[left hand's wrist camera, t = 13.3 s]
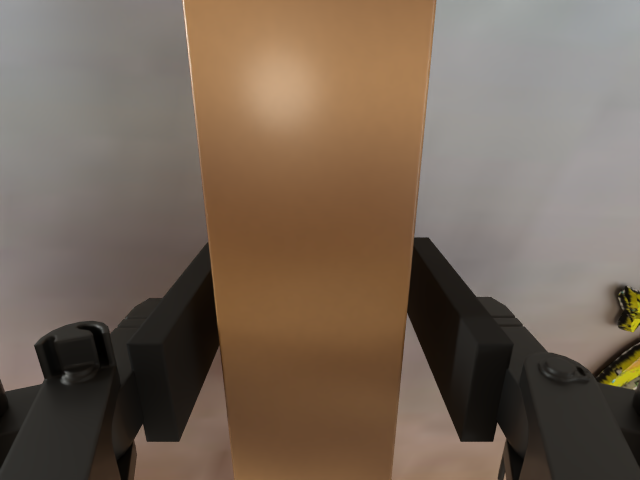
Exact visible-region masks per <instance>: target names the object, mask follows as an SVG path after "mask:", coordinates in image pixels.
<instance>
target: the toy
mask: <svg viewBox="0 0 640 480" xmlns="http://www.w3.org/2000/svg"><path fill="white" fill-rule="evenodd" d="M618 299H619V301H620V305H621V307H622V309H623V313H622V315H621V317H620V319H619V320H618V327H619V328H620V329H622V330H626V331H630V332H634V331H635V330H636V329H637V327H638V326H639V325H640V292H639V291H638V290H635V289H632V288H631V287H629V286H625V288H624V290H623V291H622V290H621V291H620V293H619V295H618ZM638 312H639V313H638ZM638 369H639V371H638ZM620 373H621V375H622V376H619V375H620ZM616 378H617V379H616ZM595 379H596V381H597V382H599V383H603V384H608V385H613V386H618V387H623V388H628V389H632V390H636V388H637V385H638V383H639V380H640V343H638V344H636V345H634V346H633V347H631V348H630V349H628V350H627V351H625V352H624V353H623V354H622V355H620V356H619V357H618V358H617V359H616V360H615V361H613V362H612V363H611V364H610V365H609V366H607V367H606V368H605V369H604V370H603V371H602V372H601V373H600V374H599V375H598V376H597V377H596V378H595ZM612 381H613V382H612ZM634 388H635V389H634Z"/></svg>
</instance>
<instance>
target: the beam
mask: <svg viewBox="0 0 640 480" xmlns="http://www.w3.org/2000/svg"><path fill="white" fill-rule="evenodd" d="M182 2H183V12H184V21H185V30H186V39H187V48H188V58H189V67H190V76H191V85H192V94H193V104H194V113H195V122H196V131H197V141H198V150H199V159H200V168H201V177H202V187H203V196H204V205H205V214H206V223H207V233H208V242H209V251H210V260H211V270H212V279H213V288H214V297H215V306H216V316H217V325H218V334H219V343H220V352H221V362H222V371H223V380H224V389H225V399H226V408H227V417H228V426H229V435H230V445H231V454H232V463H233V472H234V480H391V477H392V466H393V455H394V445H395V434H396V424H397V413H398V402H399V392H400V381H401V371H402V360H403V349H404V339H405V328H406V318H407V307H408V296H409V286H410V275H411V264H412V254H413V243H414V233H415V222H416V211H417V201H418V190H419V180H420V169H421V158H422V148H423V137H424V126H425V116H426V105H427V95H428V84H429V73H430V63H431V52H432V42H433V31H434V20H435V10H436V0H182Z"/></svg>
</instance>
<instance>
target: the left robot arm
mask: <svg viewBox="0 0 640 480" xmlns="http://www.w3.org/2000/svg"><path fill="white" fill-rule="evenodd" d="M407 313H408V316H409V318H410V321H411V323H412V325H413V328H414V330H415V333H416V335H417V337H418V340H419V342H420V345H421V347H422V349H423V352H424V354H425V357H426V359H427V361H428V364H429V366H430V369H431V371H432V373H433V376H434V378H435V381H436V383H437V386H438V388H439V390H440V393H441V395H442V398H443V400H444V402H445V405H446V407H447V410H448V412H449V414H450V417H451V419H452V422H453V424H454V426H455V429H456V431H457V434H458V436H459V438H460V441H461V442H493V440H494V435H495V430H496V426H497V422H498V424H499V426H500V428H501V429H502V431H503V433H504V435H505V437H506V442H505V447H504V451H503V455H502V460H501V464H500V468H499V474H498V480H503V479H504V474H505V473H506V480H640V380H639V383H638V385H637V388H636V390H632V389H628V388H623V387H618V386H613V385H608V384H603V383H599V382H597V381H596V379H595V377H594V376H593V375H592V374H591V372H590V371H589V370H588V369H586V368H585V367H584V366H582V365H581V364H579V363H578V362H576V361H574V360H572V359H569V358H567V357H565V356H562V355H558V354H554V353H548V352H547V351H546V350H545V348H544V347H543V346H542V345H541V344H540V343H539V342H538V341H537V340H536V339H535V338H534V336H533V335H532V334H531V333H530V332H529V331H528V330H527V329H526V328H525V327H523V324H522V323H521V322H520V321H519V320H518V319H517V318H515V316H514V315H513V313H512V312H511V311H510V310H509V309H508V308H507V307H506V306H505V305H503V304H502V303H500V302H498V301H497V300H495V299H493V298H491V297H476V296H475V295H474V293H473V292H472V291H471V290H470V289H469V287H468V286H467V285H466V284H465V282H464V281H463V280H462V279H461V277H460V276H459V275H458V274H457V272H456V271H455V270H454V269H453V267H452V266H451V265H450V264H449V262H448V261H447V260H446V259H445V257H444V256H443V255H442V254H441V252H440V251H439V250H438V249H437V248H436V246H435V245H434V244H433V243H432V241H431V240H430V239H429V238H414V243H413V254H412V264H411V275H410V286H409V296H408V307H407ZM219 345H220V343H219V334H218V325H217V316H216V306H215V297H214V288H213V279H212V270H211V260H210V251H209V242H208V243H207V244H206V245H205V246H204V248H203V249H202V250H201V251H200V253H199V254H198V255H197V256H196V257H195V259H194V260H193V261H192V262H191V264H190V265H189V266H188V267H187V269H186V270H185V271H184V272H183V274H182V275H181V276H180V277H179V279H178V280H177V281H176V282H175V284H174V285H173V286H172V287H171V289H170V290H169V291H168V292H167V293H166V295H165V296H164V297H163V298H149V299H147V300H146V301H144V302H142V303H141V304H139V305H137V306H136V307H134V308H133V310H132V311H131V312H130V313H129V314H128V315H127V316H126V317H125V319H123V321H122V322H121V323H120V324H119V325H118V328H115V329H114V330H113V332H112V333H111V334H110V333H109V328H108V326H107V325H105V324H104V323H102V322H96V321H85V322H77V323H73V324H69V325H65V326H63V327H60V328H58V329H55V330H53V331H51V332H50V333H48V334H46V335H45V336H43V337H42V338H40V340H39V341H38V342H37V343H36V344H35V345H34V347H35V350H36V353H37V356H38V359H39V363H40V366H41V369H42V372H43V375H44V378H45V379H44V381H43V383H42V384H40V385H35V386H31V387H26V388H21V389H16V390H11V391H6V392H5V391H4V388H3V385H2V383H1V380H0V480H134V474H135V466H136V458H137V453H136V447H135V442H134V439H135V437H136V435H137V433H138V431H139V430H140V428H141V426H142V424H143V426H144V430H145V435H146V440H147V442H179V441H180V438H181V436H182V434H183V431H184V429H185V426H186V424H187V422H188V419H189V417H190V414H191V412H192V410H193V407H194V405H195V402H196V400H197V398H198V395H199V393H200V390H201V388H202V386H203V383H204V381H205V378H206V376H207V374H208V371H209V369H210V366H211V364H212V361H213V359H214V357H215V354H216V352H217V349H218V347H219Z"/></svg>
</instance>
